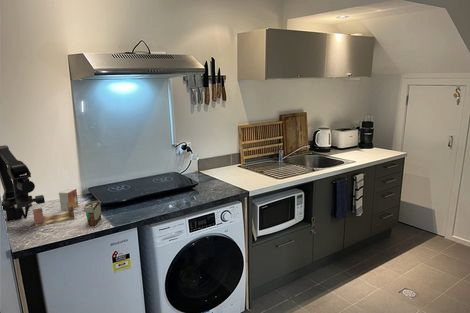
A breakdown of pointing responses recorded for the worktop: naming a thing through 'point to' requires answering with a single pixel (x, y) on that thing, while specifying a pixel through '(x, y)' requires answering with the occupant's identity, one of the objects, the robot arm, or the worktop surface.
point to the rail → (58, 216)
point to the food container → (93, 212)
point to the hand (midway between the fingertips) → (25, 218)
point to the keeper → (38, 215)
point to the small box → (68, 198)
